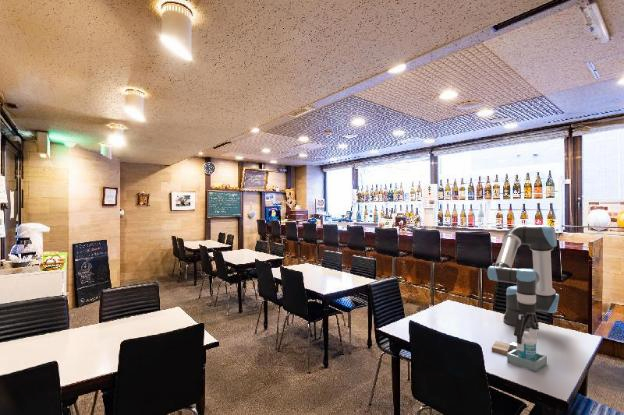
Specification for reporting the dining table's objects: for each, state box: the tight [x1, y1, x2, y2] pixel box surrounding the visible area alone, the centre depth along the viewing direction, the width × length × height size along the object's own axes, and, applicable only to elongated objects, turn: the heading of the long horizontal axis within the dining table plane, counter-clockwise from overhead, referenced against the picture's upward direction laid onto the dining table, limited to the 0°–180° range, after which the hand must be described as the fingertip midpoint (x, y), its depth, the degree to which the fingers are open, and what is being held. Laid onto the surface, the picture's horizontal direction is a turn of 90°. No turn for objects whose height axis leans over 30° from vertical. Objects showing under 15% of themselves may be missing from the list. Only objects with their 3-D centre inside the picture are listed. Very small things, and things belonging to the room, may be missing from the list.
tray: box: [506, 348, 548, 373], centre depth 149 cm, size 12×12×4 cm
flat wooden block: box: [491, 340, 511, 356], centre depth 163 cm, size 10×7×2 cm
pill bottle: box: [517, 330, 537, 362], centre depth 149 cm, size 8×7×14 cm
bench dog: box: [509, 341, 517, 352], centre depth 158 cm, size 4×3×5 cm
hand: (526, 346), depth 149 cm, fingers open, 13 cm apart
